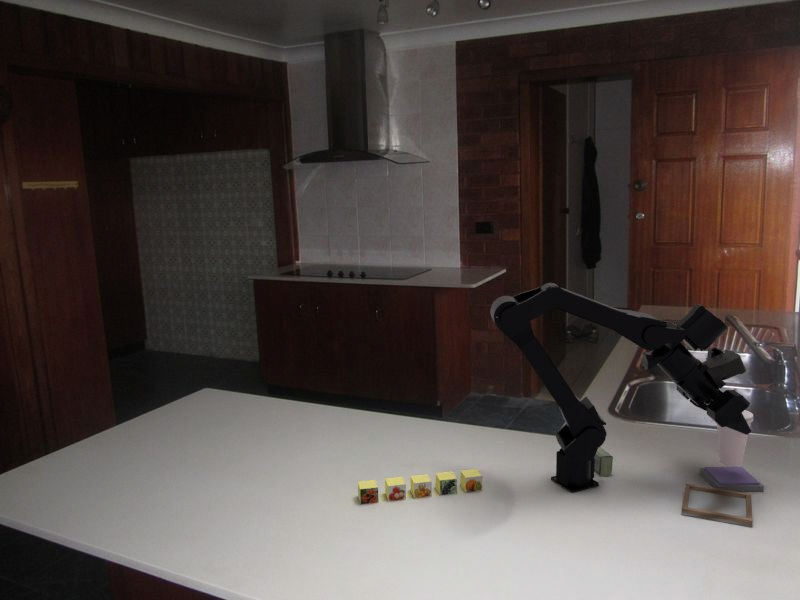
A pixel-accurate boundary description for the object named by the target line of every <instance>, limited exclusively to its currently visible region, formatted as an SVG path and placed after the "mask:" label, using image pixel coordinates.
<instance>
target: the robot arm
mask: <svg viewBox="0 0 800 600" xmlns="http://www.w3.org/2000/svg"><path fill="white" fill-rule="evenodd" d="M552 309H558V310H559V311H563V312H565V313H568V314H570V315H573V316H576V317H577V318H580V319H583V320H586V321H589V322H590V323H594V324H596V325H599V326H602V327H604V328H607V329H610V330H611V331H614V332H616V333H617V334H618V335H620V336H622V337H623V338H625V339H627V340H629V341H630V342H632V343H634V344H635V345H637V346H638V347H640V348H642V349H643V350H646V351H647V352H646V351H643V352H642V361H641V365H642V366H643V368H644V367H645V369H647V370H648V371H652V369H654V368H655V366H658V367H659V368H660V370H662V371H663V372H664V373H665V375H667V376H668V377H669V378H670V380H671V382H672V383H673V384H674V385H676V389H675V390H676V391H677V392H678V393H679V394H680V395H681V396H682V397H683V398H684V399H686V400H687V401H689V402H690V403H691V404H692V405H693V406H694V407H697V408H699V409H700V410H703V411H706V415H707V416H708V417H709V418H710V419H711V420H712V421H713V422H714V423H715V424H716V425H717V424H718V425H719V426H721V427H728V428H731V429H733V430H736V431H738V432H741V433H743V434H746V435H748V436H749V434H750V433H752V428H751V426H750V427H749V425H748V423H747V422H746V420H745V418H744V416H743V414H742V412H743V411H744V410H747V408H749V407H750V405H751V403H750V402H749V400H747V399H746V398H745V396H744V395H743V394H741V393H740V392H738V391H737V392H736V391H735V390H734V389H726V390H724V391H722V390H720V389H722V388H723V387H724V386H726V385H727V383H726V382H725V380H729V379H730V378H733V377H735V376H738V375H744V374H745V373H746V372H747V368H746V367H745V364H744V361H743V359H742V356H741V354H739V353H737V352H735V351H734V350H728V349H724V351H722V350H721V349H720V348H718V347H717V346H713V347H710V346H712V345H713V344H714V343H715V342H716V341H718V340H719V338H720V337H722V336H723V335H724V334H725V333H726V332H727V331H728V330H729V328H728V326H727V324H725V322H724V321H722V319H720V317H717V316H716V315H714V313H712V312H711V311H709V309H706V307H705V306H704V305H702V304H699V303H696V304H695V305H694V306H693V307H692V308H691V310H690V311H689V312H688V313H687V314H686V315H684V317H683V318H681V320H680V321H679V322H677V323H673V322H672V321H667V320H660V319H658V318H656V317H655V316H653V315H651V314H650V313H645V312H640V311H635V310H630V309H620V308H615V307H612V306H610V305H608V304H605V303H602V302H601V301H600V302H599V301H597V300H594V299H592V298H589V297H586V296H584V295H582V294H580V293H577V292H574V291H570V290H568V289H566V288H564V287H561V286H559V285H557V284H556V283H553V282H547V283H544V284H542V285H540V286H538V287H536V288H532V289H529V290H526V291H523V292H520V293H518V294H515V295H513V296H511V295H502V296H500V297H497V298H496V299H495V300H494V301H493V302H492V304H491V307H490V311H489V312H490V316H491V319H492V321H493V322H494V324H495V326H496V327H497V329H498V330H499V331H500V332H501V333H502V334H503V335H504V336H505V337H506V338H507V339H508V341H510V342H511V343H512V344H513V345H515V347H517V348H518V349H519V351H521V353H522V355H523V356H524V358H525V359H526V360H527V362H528V363H529V365H530V366H531V367H532V369H533V371H534V372H535V373H536V375H537V377H538V378H539V379H540V381H541V382H542V383H543V385H544V387H545V388H546V389H547V391H548V393H549V394H550V395H551V397H552V398H553V400H554V401H555V403H556V405H558V408H559V410H560V411H559V412H560V413H561V415H562V419H563V421H564V423H565V424H564V425H563V426H562V427H561V428H560V429H558V430H557V431H556V432H555V434H554V436H555V439H556V441H557V443H558V445H559V447H560V448H559V450H558V451H557V450H556V453H555V454H556V459H555V460H556V461H555V462H556V465H555V466H556V467H555V475H553V476H551V477H550V480H551V481H552V482H554V483H555V484H557V485H559V486H560V487H562V488H564V489H566V490H567V491H569V492H571V493H575V492H580V491H583V490H587V489H591V488H596V487H598V486H600V482H598V481H597V480H595V472H594V471H595V458H594V457H595V454H596V452H597V450H598V448H599V447H601V446H602V445H603V444H604V443H605V442H606V438H607V430H606V428H605V426H606V425H607V422H606V421H605V420H604V419H603V418H602V416H601V415H600V414H599V412H598V411H597V409H596V407H595V405H594V404H593V402H591V400H590V399H589V398H588V396H584V398H582V399H580V398H579V397H577V396H576V394H575V393H574V392H573V390H572V389H571V387H570V386H569V384H568V383H567V381H566V380H565V379H564V377H563V376H562V374H561V373H560V370H559V369H558V368H557V367H556V365H555V364H554V362H553V361H552V359H551V358H550V356H549V355H548V354H547V352H546V351H545V349H544V347H543V346H542V345H541V343H540V342H539V340H538V339H537V336H536V333H535V331H534V328H533V326H532V323H531V321H533V320H534V319H537V318H539V317H540V316H541V315H544V314H545V313H547V312H549V311H550V310H551V311H552ZM682 342H683V343H684V344H685V345H686V346H688V347H689V348H690V349H691V350H693V352H697V350H699V351H700V352H705V351H706V350H707V355H706V356H707V357H706V358H705V360H704V361H703V362H702V361H701V360H700V359H698V358H696V356H694V354H692V353H691V351H690V350H689V349H688V348H686V346H684V344H682ZM709 347H710V348H709Z"/></svg>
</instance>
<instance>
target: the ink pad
mask: <svg viewBox="0 0 800 600" xmlns="http://www.w3.org/2000/svg"><path fill="white" fill-rule="evenodd" d="M699 471H700V472H699V474H701V476H702V477H703V478H704V479H705V480H706V481H707V482H708V483H709V484H710V485H711V487H712V488H718V489H725V490H731V491H737V492H743V493H749V492H751V493H753V492H755V493H756V492H759V493H760V492H762V493H763V492H764V491H765V490H764V488H765V487H764V485H763V484H761V482H760V481H758V480H757V479H756V478H755V477H754V476H753V475H752V474H751V473H749V471H747V469H745V468H744V467H743V466H738V467H732V466H704V467H700V470H699Z"/></svg>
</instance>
